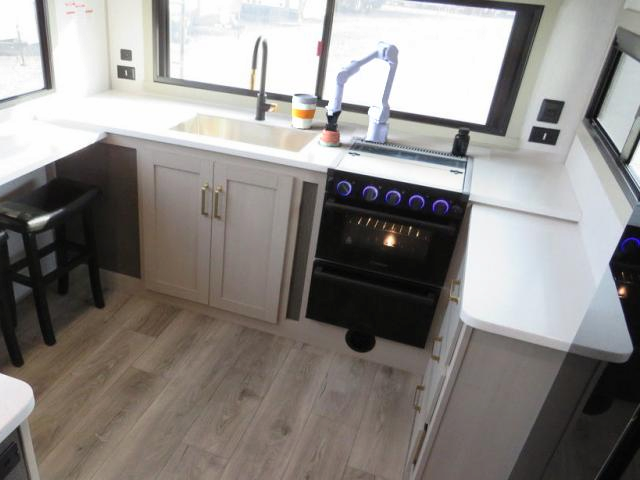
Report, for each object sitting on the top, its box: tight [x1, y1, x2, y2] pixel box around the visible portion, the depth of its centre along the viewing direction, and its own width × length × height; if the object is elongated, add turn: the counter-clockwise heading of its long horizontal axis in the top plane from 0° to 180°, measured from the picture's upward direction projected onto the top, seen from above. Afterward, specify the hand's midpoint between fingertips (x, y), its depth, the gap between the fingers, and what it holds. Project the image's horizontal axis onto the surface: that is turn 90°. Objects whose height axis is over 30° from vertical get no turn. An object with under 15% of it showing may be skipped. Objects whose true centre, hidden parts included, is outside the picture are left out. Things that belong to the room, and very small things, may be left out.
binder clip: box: [324, 122, 339, 132], centre depth 269 cm, size 5×3×3 cm, turn 68°
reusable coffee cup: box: [291, 93, 318, 130], centre depth 291 cm, size 12×13×15 cm
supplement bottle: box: [450, 127, 471, 157], centre depth 267 cm, size 7×7×12 cm
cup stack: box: [319, 127, 341, 148], centre depth 272 cm, size 9×9×6 cm
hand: (331, 127), depth 269 cm, fingers open, 4 cm apart
